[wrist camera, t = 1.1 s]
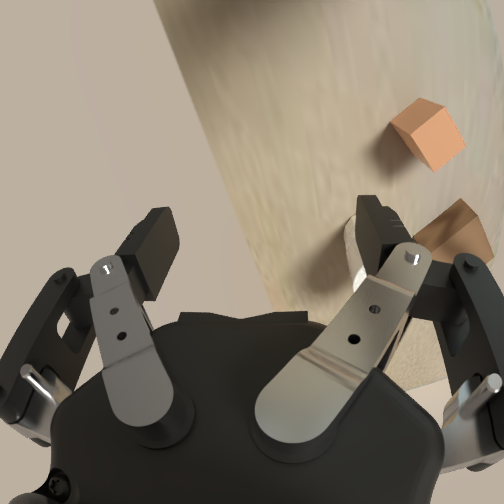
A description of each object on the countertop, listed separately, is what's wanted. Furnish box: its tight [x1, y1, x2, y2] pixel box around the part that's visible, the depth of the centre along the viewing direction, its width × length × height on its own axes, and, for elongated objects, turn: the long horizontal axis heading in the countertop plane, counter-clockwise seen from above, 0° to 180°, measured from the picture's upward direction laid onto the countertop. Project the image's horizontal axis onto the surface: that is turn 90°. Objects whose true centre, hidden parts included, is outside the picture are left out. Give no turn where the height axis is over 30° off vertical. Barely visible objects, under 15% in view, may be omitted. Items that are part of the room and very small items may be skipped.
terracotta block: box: [390, 98, 466, 172], centre depth 26 cm, size 5×5×6 cm
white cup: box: [343, 214, 367, 293], centre depth 33 cm, size 8×8×10 cm
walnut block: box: [413, 198, 494, 264], centre depth 34 cm, size 9×9×5 cm
